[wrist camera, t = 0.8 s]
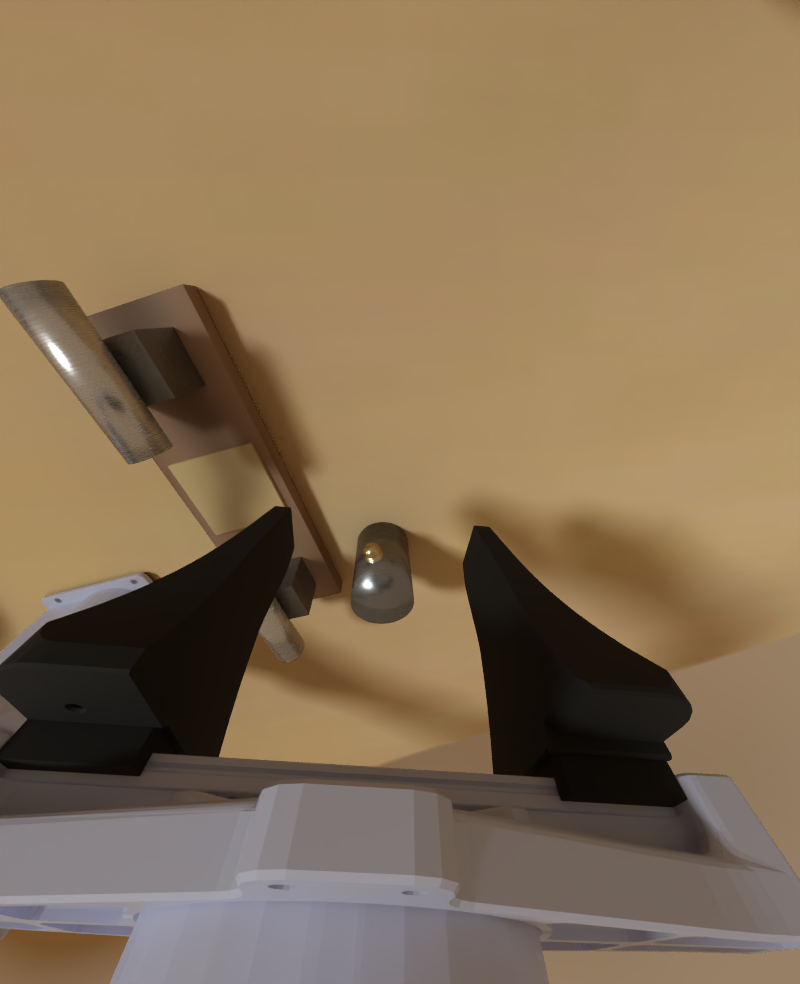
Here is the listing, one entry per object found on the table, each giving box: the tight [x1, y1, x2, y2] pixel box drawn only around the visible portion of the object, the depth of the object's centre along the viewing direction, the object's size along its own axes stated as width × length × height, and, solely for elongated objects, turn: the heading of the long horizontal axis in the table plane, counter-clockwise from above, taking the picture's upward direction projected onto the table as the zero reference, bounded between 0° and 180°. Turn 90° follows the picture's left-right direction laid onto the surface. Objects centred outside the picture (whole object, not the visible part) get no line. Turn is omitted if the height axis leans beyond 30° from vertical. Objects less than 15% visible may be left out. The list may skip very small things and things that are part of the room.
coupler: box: [351, 522, 414, 624], centre depth 23 cm, size 4×6×6 cm, turn 15°
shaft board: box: [87, 284, 342, 599], centre depth 21 cm, size 7×22×1 cm, turn 15°
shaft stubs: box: [0, 280, 316, 663], centre depth 19 cm, size 4×23×5 cm, turn 15°
